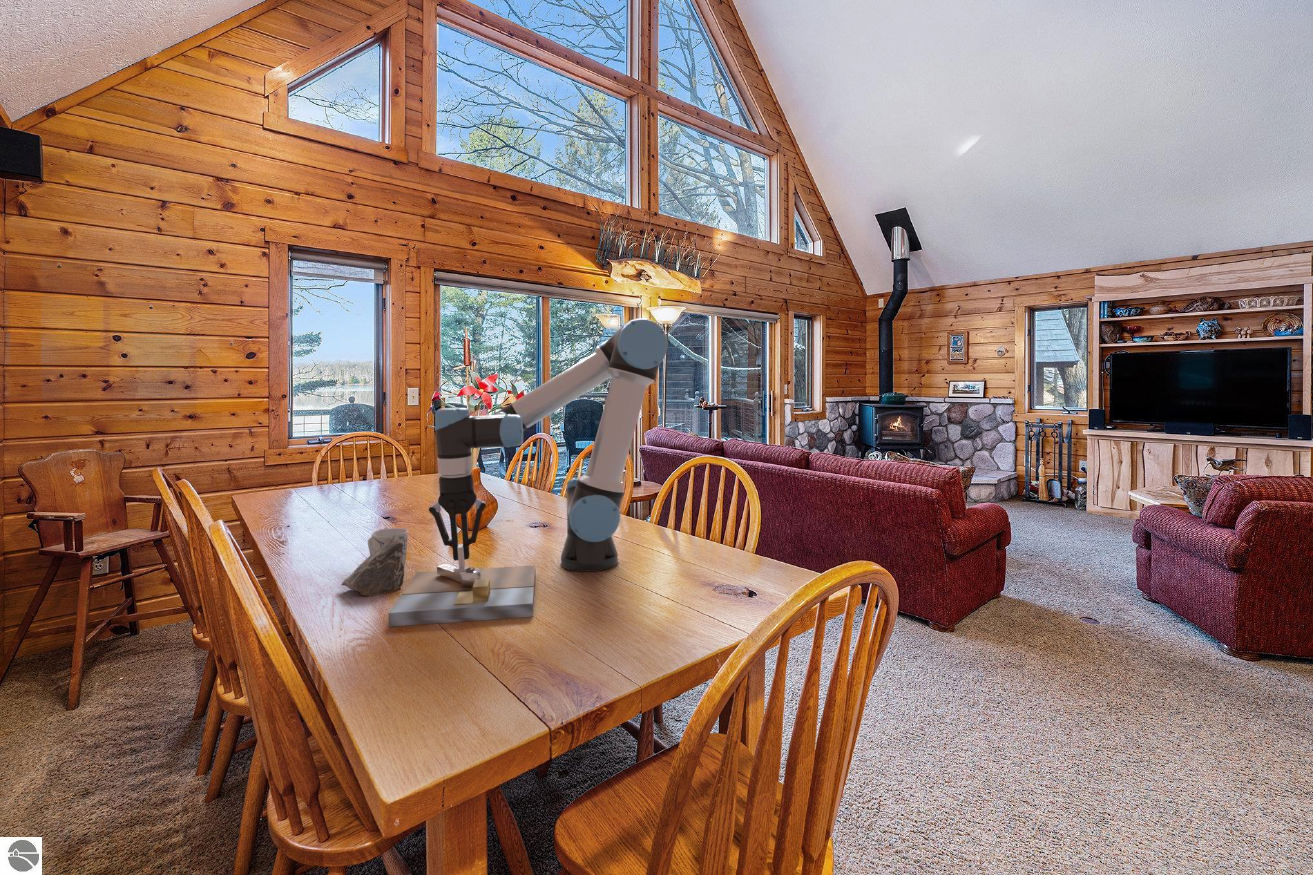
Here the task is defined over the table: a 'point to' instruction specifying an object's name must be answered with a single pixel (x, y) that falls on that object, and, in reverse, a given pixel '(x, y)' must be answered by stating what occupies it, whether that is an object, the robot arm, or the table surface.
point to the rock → (379, 570)
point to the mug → (382, 535)
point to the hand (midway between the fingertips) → (462, 572)
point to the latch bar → (460, 574)
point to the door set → (466, 597)
